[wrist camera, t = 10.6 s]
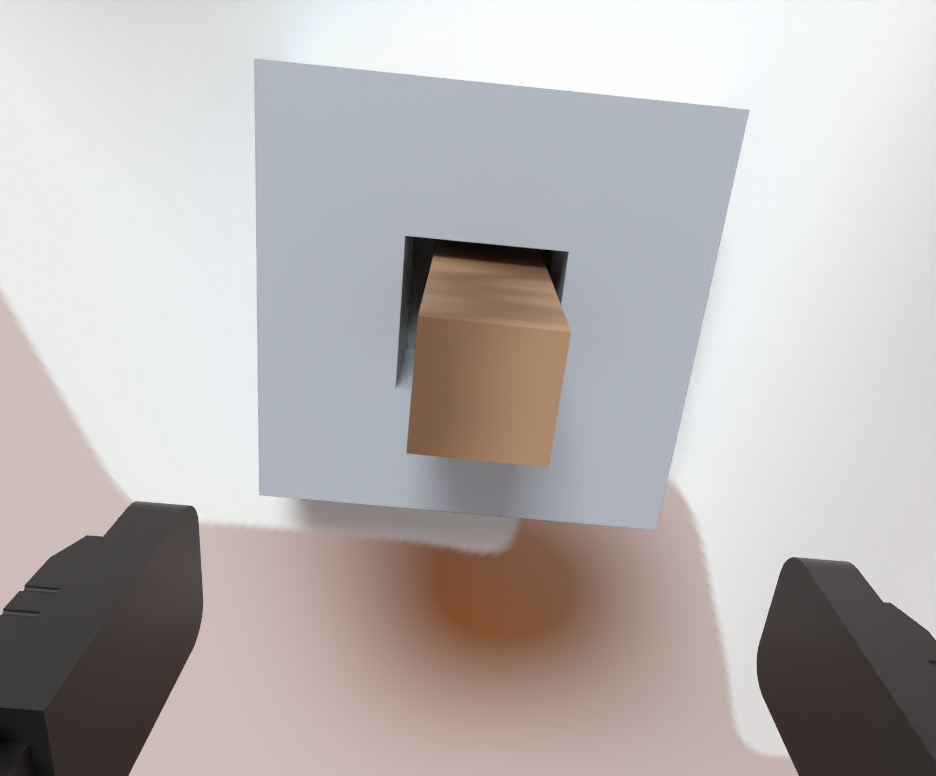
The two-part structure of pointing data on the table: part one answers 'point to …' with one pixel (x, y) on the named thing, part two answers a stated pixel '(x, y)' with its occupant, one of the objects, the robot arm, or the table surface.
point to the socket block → (491, 222)
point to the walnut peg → (487, 356)
